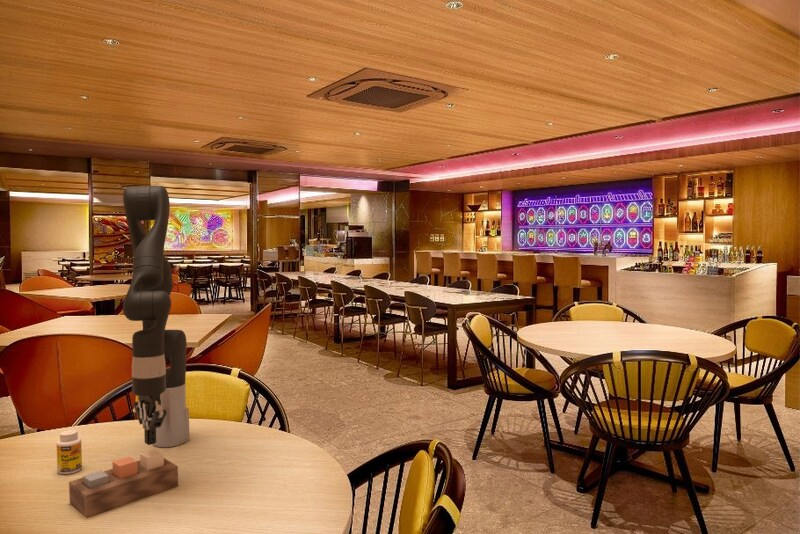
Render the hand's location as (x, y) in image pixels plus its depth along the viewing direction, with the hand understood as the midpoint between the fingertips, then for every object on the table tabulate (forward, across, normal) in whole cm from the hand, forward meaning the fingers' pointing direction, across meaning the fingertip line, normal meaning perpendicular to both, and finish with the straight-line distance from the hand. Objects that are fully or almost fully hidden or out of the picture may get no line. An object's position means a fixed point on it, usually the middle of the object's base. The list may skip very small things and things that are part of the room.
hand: (150, 443), depth 142 cm
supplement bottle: (+11, +24, +10) cm, 28 cm away
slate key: (+8, 0, +13) cm, 15 cm away
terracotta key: (+7, 0, +6) cm, 9 cm away
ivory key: (+7, 0, 0) cm, 7 cm away
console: (+11, 0, +6) cm, 12 cm away
